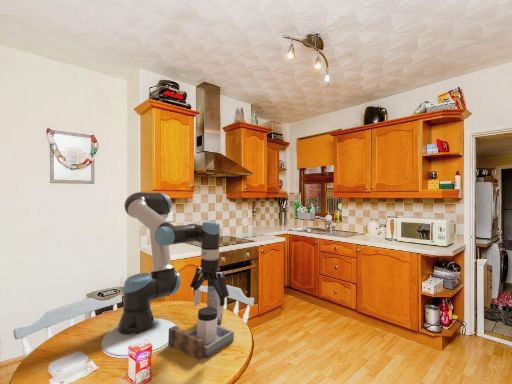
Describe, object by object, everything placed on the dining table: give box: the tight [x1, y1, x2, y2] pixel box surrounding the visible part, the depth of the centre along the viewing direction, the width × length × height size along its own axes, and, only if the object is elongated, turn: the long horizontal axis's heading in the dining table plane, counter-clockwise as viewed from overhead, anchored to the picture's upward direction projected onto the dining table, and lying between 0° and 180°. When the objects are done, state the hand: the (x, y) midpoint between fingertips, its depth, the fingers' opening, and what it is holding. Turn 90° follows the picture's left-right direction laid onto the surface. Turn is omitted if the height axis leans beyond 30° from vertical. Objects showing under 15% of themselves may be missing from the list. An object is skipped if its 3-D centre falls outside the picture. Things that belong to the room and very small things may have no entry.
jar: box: [196, 306, 218, 345], centre depth 113 cm, size 9×8×12 cm
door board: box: [167, 325, 204, 361], centre depth 106 cm, size 17×3×7 cm, turn 55°
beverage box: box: [206, 271, 225, 325], centre depth 135 cm, size 7×11×22 cm, turn 1°
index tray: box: [187, 324, 235, 359], centre depth 112 cm, size 15×16×4 cm
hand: (208, 308), depth 113 cm, fingers open, 13 cm apart
